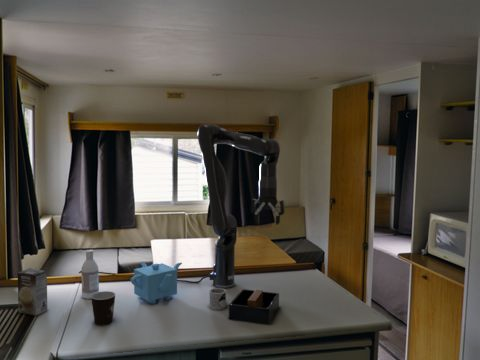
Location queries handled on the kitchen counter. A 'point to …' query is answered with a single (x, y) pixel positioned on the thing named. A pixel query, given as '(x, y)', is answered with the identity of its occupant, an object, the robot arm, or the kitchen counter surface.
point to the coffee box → (32, 291)
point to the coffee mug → (103, 307)
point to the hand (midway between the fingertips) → (267, 223)
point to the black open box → (253, 314)
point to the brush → (256, 299)
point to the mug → (217, 298)
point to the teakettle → (155, 281)
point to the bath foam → (89, 276)
